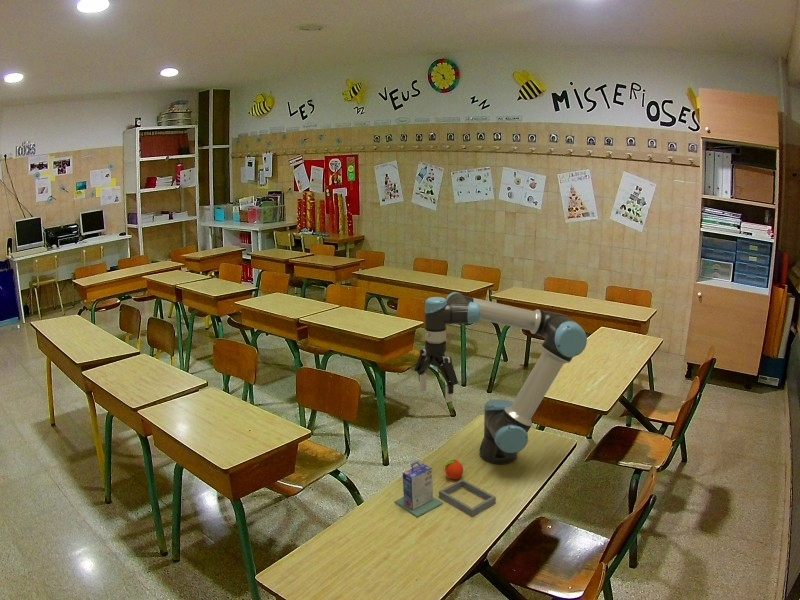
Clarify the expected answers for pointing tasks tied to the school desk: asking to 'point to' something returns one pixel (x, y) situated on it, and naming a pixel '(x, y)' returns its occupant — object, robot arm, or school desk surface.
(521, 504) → the school desk surface
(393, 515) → the school desk surface
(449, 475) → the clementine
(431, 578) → the school desk surface
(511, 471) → the school desk surface
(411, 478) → the ink cartridge box
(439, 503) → the mat
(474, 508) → the grey rectangular frame
